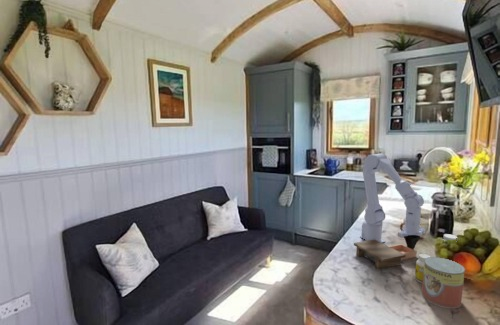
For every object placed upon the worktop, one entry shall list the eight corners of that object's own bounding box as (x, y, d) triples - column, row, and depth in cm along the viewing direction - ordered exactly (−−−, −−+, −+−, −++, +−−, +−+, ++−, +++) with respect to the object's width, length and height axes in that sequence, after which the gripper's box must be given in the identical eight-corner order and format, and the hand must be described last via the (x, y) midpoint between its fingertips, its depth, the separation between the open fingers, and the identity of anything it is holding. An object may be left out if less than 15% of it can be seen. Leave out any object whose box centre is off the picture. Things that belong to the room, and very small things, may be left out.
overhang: (353, 253, 130) (353, 242, 129) (374, 249, 134) (374, 239, 133) (381, 271, 114) (382, 259, 113) (404, 266, 118) (405, 254, 117)
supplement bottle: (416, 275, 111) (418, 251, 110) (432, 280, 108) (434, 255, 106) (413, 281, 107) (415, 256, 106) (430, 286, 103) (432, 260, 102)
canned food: (414, 292, 99) (416, 260, 98) (435, 285, 104) (438, 254, 102) (447, 312, 89) (451, 276, 88) (469, 303, 94) (473, 269, 92)
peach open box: (384, 252, 130) (385, 247, 130) (401, 249, 133) (401, 244, 133) (399, 260, 123) (399, 254, 122) (416, 257, 126) (416, 251, 126)
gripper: (408, 226, 122) (405, 256, 124) (432, 222, 127) (430, 251, 129) (394, 221, 128) (392, 249, 130) (418, 217, 133) (416, 245, 135)
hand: (410, 250), depth 130 cm, fingers closed
